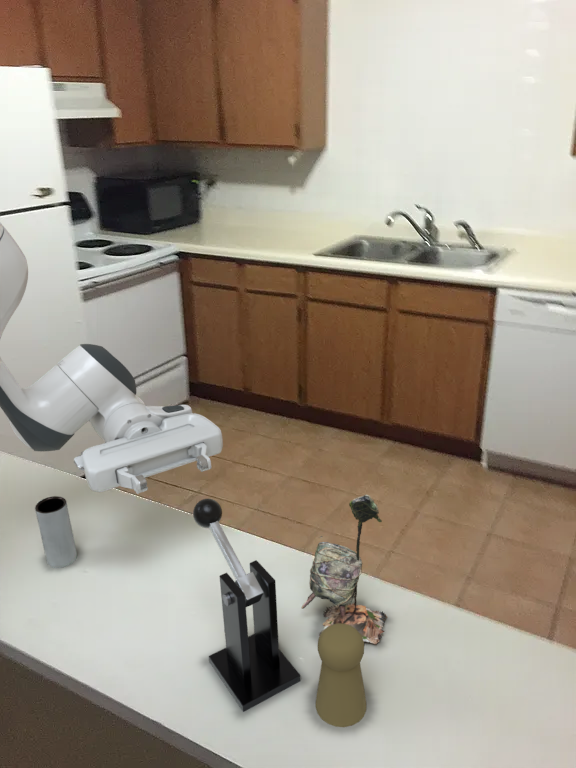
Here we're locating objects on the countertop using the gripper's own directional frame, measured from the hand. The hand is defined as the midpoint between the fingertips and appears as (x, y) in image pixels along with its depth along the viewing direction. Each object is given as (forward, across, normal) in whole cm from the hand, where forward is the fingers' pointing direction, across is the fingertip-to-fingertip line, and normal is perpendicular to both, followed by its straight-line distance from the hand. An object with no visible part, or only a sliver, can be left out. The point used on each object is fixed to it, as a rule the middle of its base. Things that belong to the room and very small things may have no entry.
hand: (175, 476), depth 91 cm
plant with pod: (+20, +14, +19) cm, 30 cm away
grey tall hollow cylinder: (-16, -14, +19) cm, 29 cm away
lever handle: (+14, 0, +4) cm, 14 cm away
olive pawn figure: (+30, +6, +19) cm, 36 cm away
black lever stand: (+20, 0, +18) cm, 27 cm away
